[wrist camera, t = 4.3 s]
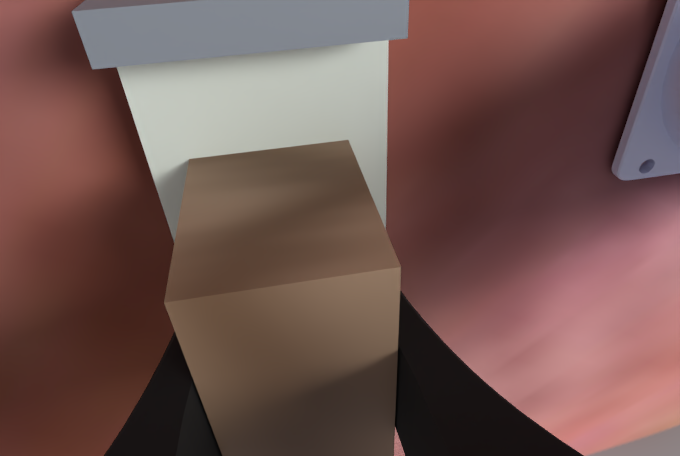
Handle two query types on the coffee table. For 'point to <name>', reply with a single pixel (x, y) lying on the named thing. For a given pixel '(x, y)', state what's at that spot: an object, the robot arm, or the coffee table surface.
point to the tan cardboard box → (287, 302)
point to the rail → (248, 78)
